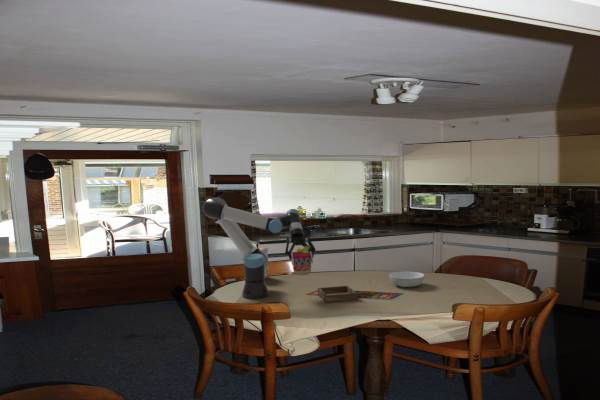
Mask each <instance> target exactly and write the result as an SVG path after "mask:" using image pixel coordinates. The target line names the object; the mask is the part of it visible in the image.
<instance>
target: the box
mask: <svg viewBox="0 0 600 400" xmlns="http://www.w3.org/2000/svg"><path fill="white" fill-rule="evenodd" d="M317 295H318V297H319V298H321V300H322V301H323V302H324V303H325V304H331V303H344V302H354V301H355V302H356V301H358V300H359V299H358V295H359V293H358V292H357V291H356V290H354V289H353V288H352V287H350V286H349V285H340V286H337V285H336V286H327V287H326V286H324V287H317Z"/></svg>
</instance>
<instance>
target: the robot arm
mask: <svg viewBox="0 0 600 400" xmlns="http://www.w3.org/2000/svg"><path fill="white" fill-rule="evenodd" d="M201 209H202V213H203V214H204V215H205V216H206V217H207V218H209V219H212V221H213V222H214V223H215V224H219V226H220V227H221V228H222V229H223V230H224V232H225V233H226V235H227V236H228V238H230V240H231V242H232V243H233V244H234V245H235V247H236V248H237V250H238V251H239V252H240V253H241V255H242V260H243V264H244V265H243V266H244V285H243V289H242V298H245V299H252V300H254V299H263V298H265V297H268V296H269V289H268V285H267V283H266V279H265V269H266V267H267V265H268V266H269V258H268V259H267V257H266V255H265V254H264V253H262V252H261V251H260V250H259V248H260V247H257V246H254V244H253V243H252V241H251V240H250V239H249V237H248V236H247V235H246V234H245V232H244V231H243V230H242V228H241V227H240V226H239V224H243V225H246V226H249V227H253V228H257V229H261V230H265V231H268V232H271V233H274V234H278V233H280V232H281V231H282V230H283V229H286V228H288V229H289V234H290V238H286V246H285V251H284V252H285V253H284V254H285V255H288V258H289V260H291V265H292V266H293V265H294V259H293V254H294V253H293V250H294V249H295V247H297V246H301V247H303V248H304V247H305V246H308V247H309V250H308V252H309V253H310V254H311V265H312V264H313V263H314V253H316V250H317V249H316V247H315V246H314V244H313V243H312V241H311V238H310V237H309V236H308V237H305V235H304V231H303V226H302V221H301V216H300V213H299V211H298V210H297V209H296V208H291V209H288V210H287V212H286V213H285V214H284V215H282V216H276V217H269V216H265V215H261V214H258V213H255V212H250V211H247V210H244V209H243V210H242V209H238V208H235V207H230V206H228V203H227V202H226V201H225V199H223V198H221V197H219V196H217V197H211V198H209V199H206V200H205V201H204V202H203V205H202V208H201ZM238 223H239V224H238ZM290 243H292V245H291V246H290ZM289 246H290V248H289Z"/></svg>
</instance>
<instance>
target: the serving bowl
mask: <svg viewBox="0 0 600 400" xmlns="http://www.w3.org/2000/svg"><path fill="white" fill-rule="evenodd" d="M388 276H389V279H390V282H391V283H392V284H393V285H396V286H398V287H401V288H406V287H409V288H414V287H417V286H420V285H421V284H423V282H424V280H425V277H426V276H425V274H424V273H421V272H417V271H408V270H407V271H395V272H391V273H389V275H388Z"/></svg>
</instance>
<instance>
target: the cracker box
mask: <svg viewBox="0 0 600 400" xmlns="http://www.w3.org/2000/svg"><path fill="white" fill-rule="evenodd" d="M258 248H259V250H260V251H261V252H262V253H264V254H265V255H266V257H267V259H268V260H269V250H268V247H265V246H264V247H262V246H261V247H258ZM269 277H270V271H269V264H268V265H267V267H266V269H265V280H266V279H268V278H269Z"/></svg>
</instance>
